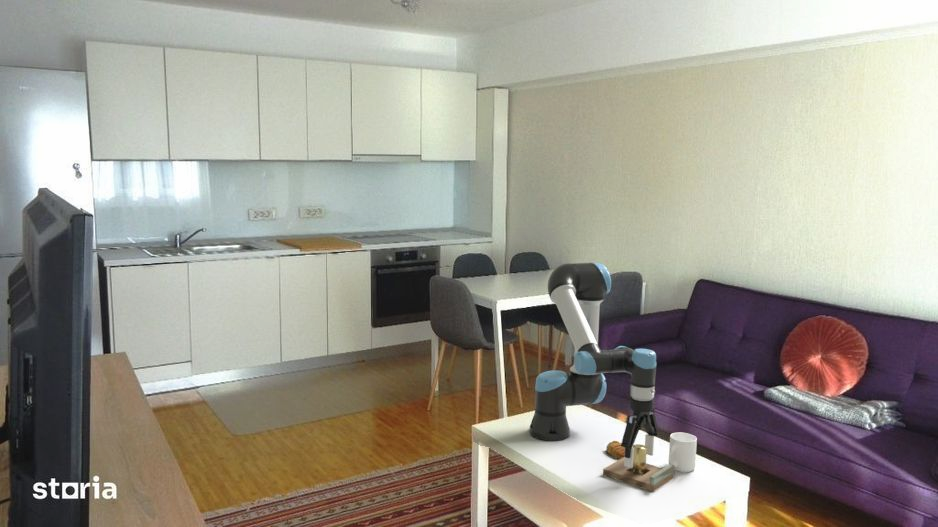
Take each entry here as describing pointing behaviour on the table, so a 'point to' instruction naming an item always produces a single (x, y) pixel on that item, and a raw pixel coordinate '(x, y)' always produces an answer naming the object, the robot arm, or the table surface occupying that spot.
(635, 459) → the brass cylinder rod
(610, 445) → the pastry
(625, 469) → the jig
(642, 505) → the table surface
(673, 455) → the mug
